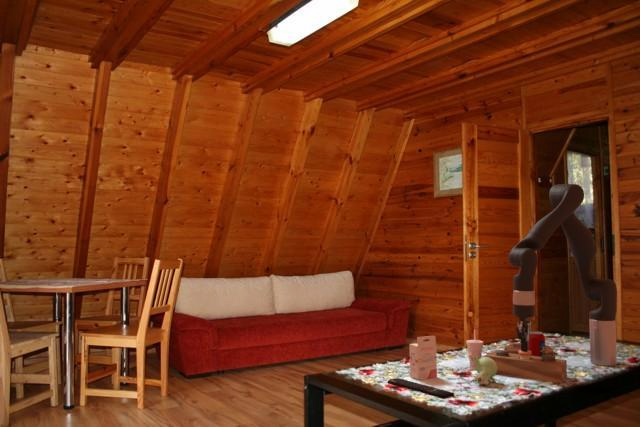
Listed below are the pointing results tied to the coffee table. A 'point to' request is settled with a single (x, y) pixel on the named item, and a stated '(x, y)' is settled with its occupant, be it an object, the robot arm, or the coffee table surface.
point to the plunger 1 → (502, 353)
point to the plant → (516, 347)
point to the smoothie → (474, 349)
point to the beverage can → (536, 344)
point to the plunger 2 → (548, 358)
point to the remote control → (421, 388)
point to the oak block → (530, 367)
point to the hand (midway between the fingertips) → (524, 351)
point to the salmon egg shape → (524, 354)
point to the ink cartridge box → (423, 358)
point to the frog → (483, 369)
